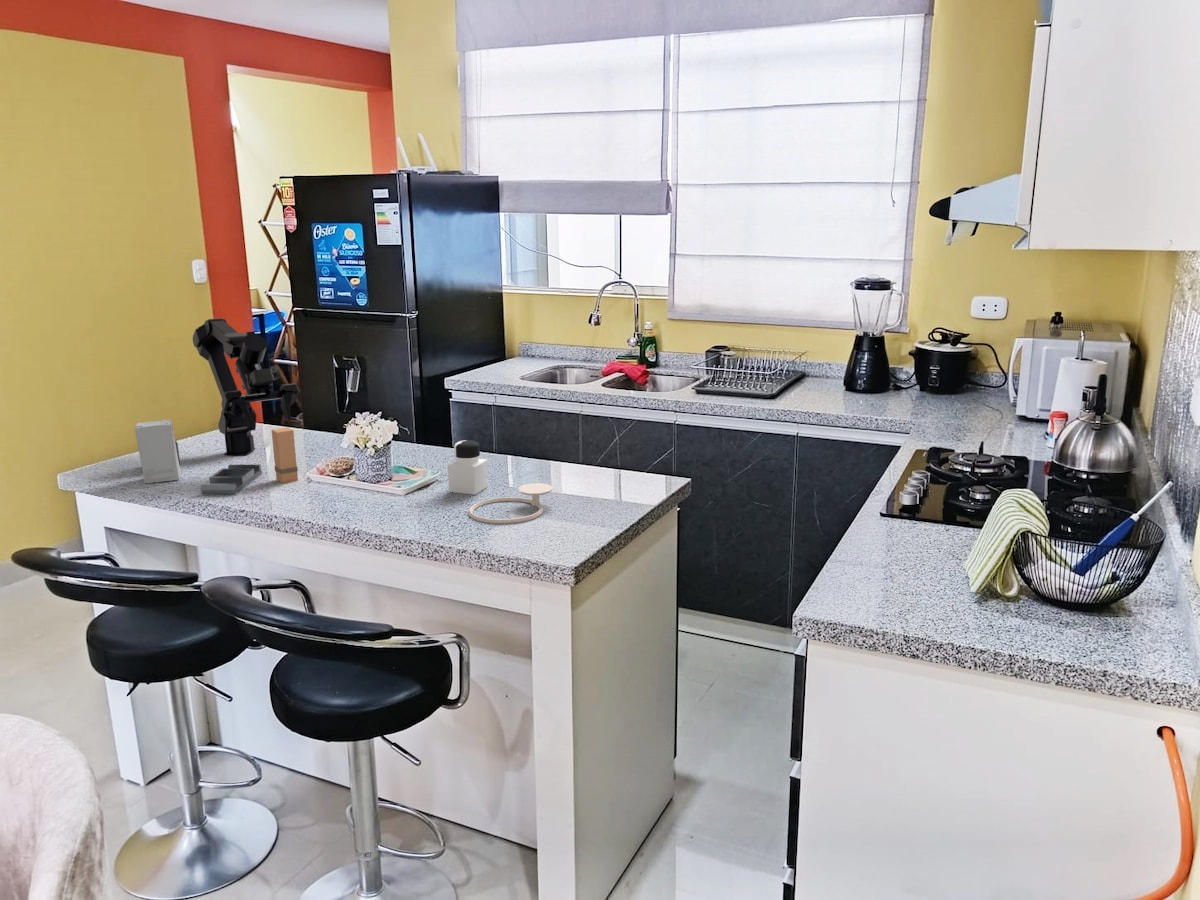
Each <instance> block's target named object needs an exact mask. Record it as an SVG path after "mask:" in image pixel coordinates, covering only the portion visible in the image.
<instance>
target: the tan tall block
mask: <svg viewBox="0 0 1200 900" xmlns="http://www.w3.org/2000/svg"><path fill="white" fill-rule="evenodd" d="M294 435H295V434H294V429H291V428H289V427H282V428H281V427H280V428H275V429H271V436H272V439H271V440H272V447H273V457H274V471H275V480H276V481H277V482H279V481H280V484H285V483H286V482H287V483H291V481H292V482H297V481H298V480H299V477H298V469H299V468H298V466H297V465H298V464H297V457H296V455H297V454H296V446H295V445H296V444H295V443H296V442H295V436H294ZM296 480H297V481H296ZM287 483H286V484H287Z"/></svg>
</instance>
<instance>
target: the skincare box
mask: <svg viewBox="0 0 1200 900" xmlns="http://www.w3.org/2000/svg"><path fill="white" fill-rule="evenodd" d="M134 432H135V437H136V443H137V449H138V450H137V451H138V454H139V455H138V456H139V459H140V467H141V470H142V475H143V482H144V484H145V483H147V484H153V483H154V482H155V483H162V482H168V481H173V482H174V481H179V480H180V477H181V470H180V469H181V468H180V466H179V461H178V455H177V449H176V443H175V441H176V439H175V433H174V427H173V422H172V419H162V420H153V421H144V422H142V421H141V422H137V423H136V425H135V428H134Z"/></svg>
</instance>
